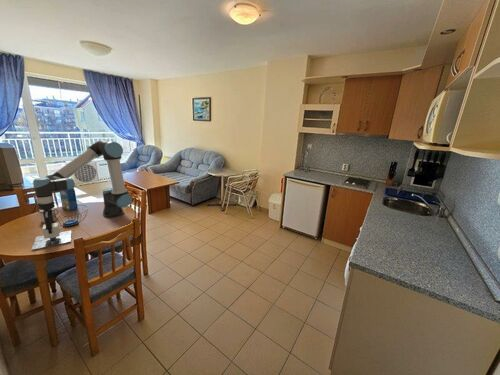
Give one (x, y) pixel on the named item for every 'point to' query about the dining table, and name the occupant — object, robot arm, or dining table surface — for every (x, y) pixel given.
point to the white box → (55, 230)
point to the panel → (52, 240)
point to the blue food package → (68, 199)
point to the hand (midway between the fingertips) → (52, 234)
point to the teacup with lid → (52, 214)
